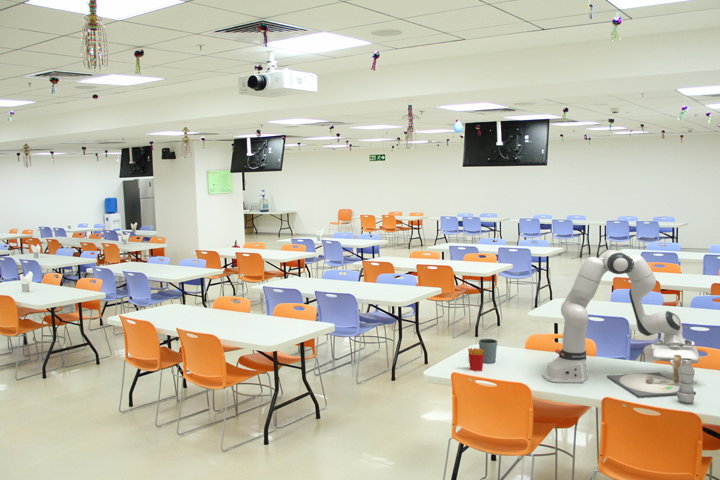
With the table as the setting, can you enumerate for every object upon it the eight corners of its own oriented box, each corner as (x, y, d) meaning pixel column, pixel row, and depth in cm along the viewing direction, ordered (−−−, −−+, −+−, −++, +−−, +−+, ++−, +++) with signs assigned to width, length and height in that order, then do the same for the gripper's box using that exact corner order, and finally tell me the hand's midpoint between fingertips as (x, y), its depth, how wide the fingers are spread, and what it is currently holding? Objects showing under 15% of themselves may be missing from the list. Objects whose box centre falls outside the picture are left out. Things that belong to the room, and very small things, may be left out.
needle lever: (646, 383, 277) (647, 354, 275) (645, 380, 280) (645, 352, 279) (681, 385, 273) (682, 356, 271) (679, 383, 276) (680, 354, 274)
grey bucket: (476, 362, 321) (475, 341, 320) (483, 357, 329) (483, 337, 328) (493, 365, 315) (493, 344, 314) (499, 360, 323) (499, 339, 322)
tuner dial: (638, 398, 263) (638, 394, 263) (607, 377, 291) (607, 374, 291) (695, 394, 265) (695, 391, 265) (659, 374, 293) (659, 371, 293)
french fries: (484, 369, 309) (484, 347, 307) (483, 371, 305) (483, 349, 304) (468, 367, 312) (468, 346, 310) (467, 370, 308) (467, 348, 307)
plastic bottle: (692, 406, 252) (693, 362, 250) (675, 402, 257) (676, 359, 255) (695, 401, 257) (697, 358, 255) (678, 398, 261) (680, 356, 259)
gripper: (651, 339, 285) (653, 364, 277) (698, 342, 278) (701, 368, 270) (650, 345, 290) (652, 370, 282) (696, 348, 282) (699, 374, 274)
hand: (676, 369), depth 276 cm, fingers closed, pressing on needle lever
